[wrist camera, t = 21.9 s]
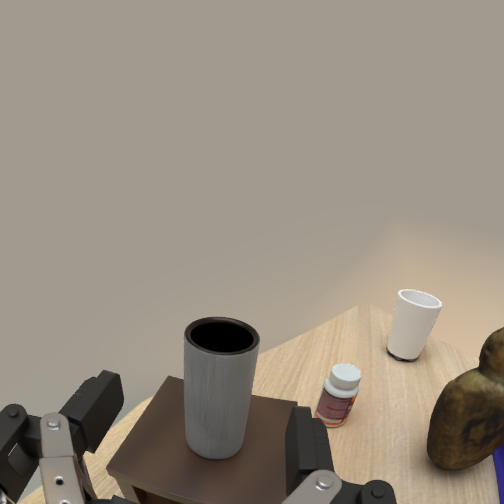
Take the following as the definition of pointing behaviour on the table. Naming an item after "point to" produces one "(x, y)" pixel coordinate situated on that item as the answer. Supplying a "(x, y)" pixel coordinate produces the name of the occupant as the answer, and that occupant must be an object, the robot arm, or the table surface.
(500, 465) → the stapler
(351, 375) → the pill bottle
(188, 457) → the plant stand
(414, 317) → the cup
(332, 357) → the table surface
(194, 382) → the planter
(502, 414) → the sculpture
